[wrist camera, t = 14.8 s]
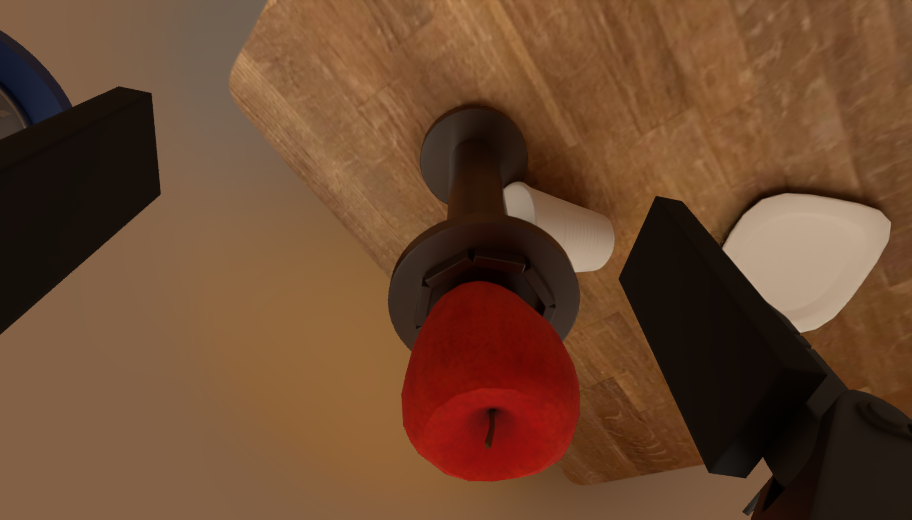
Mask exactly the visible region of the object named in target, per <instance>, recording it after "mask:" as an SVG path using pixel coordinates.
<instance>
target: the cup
mask: <svg viewBox="0 0 912 520" xmlns="http://www.w3.org/2000/svg"><path fill="white" fill-rule="evenodd" d="M504 195H505V200H506V206H507V211H508V216H513V217H517V218H520V219H522V220H525V221H528V222H530V223H532V224H534V225H536V226H538V227H540V228H541V229H543V230H544V231H546V232H547V233H548V234H550V235H551V236H552V237H553V238H554V239H555V240H556V241H557V242H558V243H559V244H560V245H561V246H562V248H563V249H564V250H565V252H566V253H567V255H568V257H569V259H570V261H571V263H572V266H573V268H574V271H575V272H585V271H595V270H598V269H600V268H601V267H603V266H604V265H605V264H606V262H607V261H608V260H609V258H610V256H611V254H612V252H613V248H614V242H615V237H614V230H613V227H612V225H611V223H610V221H609V219H608V218H607V217H606V216H604V215H602V214H599V213H597V212H594V211H591V210H589V209H586V208H583V207H580V206H578V205H575V204H572V203H570V202H567V201H564V200H561V199H559V198H556V197H553V196H552V195H549V194H546V193H544V192H541V191H538V190H536V189H533V188H531V187H529V186H528V185H527V184H525V183H523V182H513V183H511V184H509V185H507V186H506V187H505V188H504Z"/></svg>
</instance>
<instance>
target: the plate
mask: <svg viewBox="0 0 912 520" xmlns="http://www.w3.org/2000/svg"><path fill="white" fill-rule="evenodd" d="M890 227H891V222H890V221H889V220H888V219H887V218H886V217H885V216H884V214H883V213H882V212H881V211H880V210H877V209H874V208H871V207H868V206H866V205H863V204H860V203H856V202H851V201H846V200H841V199H836V198H830V197H824V196H818V195H812V194H799V193H782V194H778V195H774V196H770V197H767V198H763V199H761V200H760V201H758V202H757V203H756V204H755V205H753V206H752V207H751V208H750V209H749V210H747V211H746V212H745V213H744V214H743V215H742V216H741V218H740V219H739V221H738V222H737V223H736V225H735V226H734V228H733V229H732V231H731V232H730V234H729V235H728V237H727V239H726V241H725V243H724V244H723V246H722V249H723V250H724V252H725V253H726V254H727V255H728V256H729V258H730V259H731V260H732V261H733V262H734V264H735V265H736V266H737V267H738V268H739V270H740V271H741V272H742V273H743V274H744V275H745V277H746V278H747V279H748V280H749V281H750V283H751V284H752V285H753V286H754V287H755V289H756V290H757V291H758V292H759V293H760V295H761V296H762V297H763V298H764V299H765V301H766V302H768V303H769V304H770V305H772V306H773V307H774V308H776V309H777V310H778V311H780V312H781V313H782V314H783V315H785V316H786V317H787V318H788V319H789V320H790V322H791V323H792V324H793V325H794V326H795V327H796V329H797V330H798V331H799V332H800V333H801V332H805V331H810V330H814V329H817V328H819V327H820V326H822V325H823V324H825V323H826V322H828V321H829V320H831V319H832V318H834V317H835V316H836V315H837V314H838V312H839V311H840V310H841V309H842V308H843V307H844V306H845V305H846V304H847V302H848V301H849V300H850V299H851V297H852V296H853V295H854V293H855V292H856V291H857V289H858V288H859V287H860V285H861V284H862V283H863V281H864V280H865V278H866V277H867V275H868V274H869V273H870V271H871V270H872V268H873V267H874V265H875V264H876V262H877V261H878V259H879V257H880V255H881V254H882V252H883V250H884V248H885V246H886V245H887V243H888V241H889V235H890Z"/></svg>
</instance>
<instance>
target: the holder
mask: <svg viewBox="0 0 912 520" xmlns="http://www.w3.org/2000/svg"><path fill="white" fill-rule="evenodd" d="M527 162H528V156H527V149H526V145H525V141H524V139H523V136H522V134H521V132H520V130H519V128H518V127H517V125H516V124H515V123H514V122H513V121H512V120H511V119H510V118H509V117H508V116H507V115H505V114H504V113H502V112H500V111H499V110H496V109H494V108H491V107H487V106H482V105H467V106H462V107H458V108H455V109H453V110H450V111H448V112H447V113H445V114H443V115H442V116H441V117H439V118H438V119H437V120H436V121H435V122H434V123H433V124H432V126H431V127H430V128H429V130H428V132H427V134H426V136H425V138H424V141H423V144H422V149H421V156H420V166H421V172H422V175H423V178H424V180H425V183H426V185H427V186H428V188H429V189H430V190H431V192H432V193H433V194H434V195H435V196H436V197H437V198H438V199H440V200H441V201H442V202H444V203H446V204H447V205H448V213H447V220H446V221H443V222H440V223H438V224H436V225H434V226H433V227H431V228H429V229H427V230H426V231H424V232H423V233H422V234H420V235H419V236H418V237H417V238H415V239H414V240H413V241H412V242H411V243H410V244H409V245H408V247H407V248H406V249H405V250H404V251H403V253H402V254H401V256H400V258H399V259H398V261H397V263H396V266H395V268H394V270H393V274H392V278H391V282H390V287H389V295H388V307H389V313H390V318H391V321H392V324H393V325H394V329H395V331H396V332H397V334H398V336H399V337H400V339H401V340H402V341H403V343H404V344H405V345H406V346H407V347H408V348H409V349H410V350H411V351H412V349H413V346H414V343H415V341H416V339H417V337H418V334H419V332H420V330H421V328H422V326H423V324H424V322H425V320H426V318H427V317H428V315H429V313H430V311H431V309H432V308H433V306H434V305H435V304H436V303H437V302H438V301H439V300H440V298H441V297H442V296H443V295H444V294H446V293H448V292H449V291H451V290H452V289H454V288H456V287H457V286H459V285H461V284H464V283H469V282H473V281H487V282H491V283H494V284H497V285H500V286H502V287H504V288H506V289H508V290H509V291H511V292H513V293H515V294H517V295H518V296H519V297H520V298H521V299H522V300H524V301H525V302H526V303H527V304H528V305H529V306H531V307H532V308H533V309H534V310H535V311H537V312H538V313H539V314H540V315H541V316H542V317H544V318H545V319H546V320H547V321H548V322H549V323H550V324H551V325H552V327H553V328H554V329H555V331H556V332H557V333H558V335H559V337H560V339H561V341H562V342H563V341H564V340H565V338H566V337H567V335H568V334H569V332H570V331H571V329H572V327H573V325H574V323H575V320H576V317H577V314H578V310H579V303H580V290H579V285H578V280H577V277H576V274H575V271H574V268H573V266H572V263H571V261H570V259H569V257H568V255H567V253H566V252H565V250H564V249H563V248H562V246H561V245H560V244H559V243H558V242H557V241H556V240H555V239H554V238H553V237H552V236H551V235H550V234H548V233H547V232H546V231H544V230H543V229H541V228H540V227H538V226H536V225H534V224H532V223H530V222H528V221H525V220H522V219H520V218H517V217H513V216H508V211H507V206H506V200H505V195H504V188H505V187H506V186H507V185H509V184H511V183H513V182H522V181H523V179H524V176H525V173H526V169H527Z"/></svg>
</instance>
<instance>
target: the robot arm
mask: <svg viewBox="0 0 912 520" xmlns="http://www.w3.org/2000/svg"><path fill="white" fill-rule="evenodd" d="M160 194H161V193H160V181H159V169H158V159H157V148H156V137H155V126H154V116H153V104H152V94H151V93H148V92H143V91H139V90H134V89H129V88H124V87H119V86H118V87H116V88H114V89H112V90H110V91H108V92H106V93H103V94H101V95H98V96H96V97H94V98H92V99H90V100H87V101H85V102H83V103H81V104H78V105H76V106H74V107H72V108H69V109H67V110H65V111H63V112H60V113H58V114H56V115H54V116H52V117H49V118H47V119H45V120H43V121H40V122H38V123H36V124H34V125H33V124H32V122H31V120H30V118H29V116H28V114H27V112H26V111H25V109H24V108H23V106H22V105H21V103H20V102H19V101H18V99H17V98H16V97H15V96H14V95H13V94H12V92H11V91H10V90H9V89H8V88H7V87H6V86H5V85H4V84H3V83H2V82H0V334H2V333H3V332H4V331H5V330H6V329H7V328H8V327H9V326H10V325H12V324H13V323H14V322H15V321H16V320H18V319H19V318H20V317H21V316H22V315H23V314H24V313H26V312H27V311H28V310H29V309H30V308H31V307H32V306H33V305H35V304H36V303H37V302H38V301H39V300H40V299H42V298H43V297H44V296H45V295H46V294H47V293H48V292H50V291H51V290H52V289H53V288H54V287H55V286H56V285H57V284H59V283H60V282H61V281H62V280H63V279H64V278H65V277H67V276H68V275H69V274H70V273H71V272H72V271H73V270H75V269H76V268H77V267H78V266H79V265H80V264H81V263H83V262H84V261H85V260H86V259H87V258H88V257H90V256H91V255H92V254H93V253H94V252H95V251H96V250H98V249H99V248H100V247H101V246H102V245H103V244H104V243H106V242H107V241H108V240H109V239H110V238H111V237H112V236H114V235H115V234H116V233H117V232H118V231H119V230H120V229H122V228H123V227H124V226H125V225H126V224H127V223H128V222H130V221H131V220H132V219H133V218H134V217H135V216H136V215H138V214H139V213H140V212H141V211H142V210H143V209H144V208H145V207H147V206H148V205H149V204H150V203H151V202H152V201H154V200H155V199H156V198H157V197H158V196H159V195H160ZM619 281H620V283H621V285H622V287H623V289H624V292H625V294H626V296H627V298H628V300H629V302H630V304H631V307H632V309H633V311H634V313H635V315H636V317H637V320H638V322H639V324H640V326H641V328H642V330H643V332H644V335H645V337H646V339H647V341H648V343H649V345H650V348H651V350H652V352H653V354H654V356H655V358H656V360H657V363H658V365H659V367H660V369H661V371H662V373H663V375H664V378H665V380H666V382H667V384H668V386H669V388H670V391H671V393H672V395H673V397H674V399H675V401H676V403H677V406H678V408H679V410H680V412H681V414H682V416H683V419H684V421H685V423H686V425H687V427H688V429H689V431H690V434H691V436H692V438H693V440H694V442H695V444H696V446H697V449H698V451H699V453H700V455H701V457H702V459H703V462H704V464H705V466H706V468H707V470H708V472H709V473H713V474H719V475H727V476H734V477H740V478H746V477H747V476H748V475H749V474H750V472H751V471H752V470H753V469H754V467H755V466H756V465H757V464H758V462H759V461H760V460H761V459H762V457H763V458H764V460H765V461H766V463H767V465H768V467H769V468H770V470H771V472H772V474H773V475H772V477H771V478H770V479H769V480H768V482H767V483H766V484H765V485H764V486H763V487H762V489H761V490H760V491H759V492H758V493H757V495H756V496H755V497H754V498H753V500H752V501H751V502H750V503H749V504H748V505H747V507H746V508H745V509H744V510H743V513H745V514H746V515H749V514H750V513H751V512H753V511H754V512H753V515H752V517H751V520H912V420H911V419H910V418H909V417H907V416H906V415H905V414H904V413H903V412H901V411H900V410H899V409H897V408H895V407H894V406H892V405H891V404H889V403H887V402H886V401H884V400H882V399H880V398H878V397H875V396H873V395H871V394H869V393H865V392H861V391H857V390H849V389H848V388H847V387H846V386H845V385H844V383H843V382H842V381H841V380H840V379H839V378H838V376H837V375H836V374H835V373H834V372H833V371H832V369H831V368H830V367H829V366H828V365H827V364H826V362H825V361H824V360H823V359H822V358H821V357H820V355H819V354H818V353H817V352H816V351H815V350H814V349H811V345H810V344H809V343H808V341H807V340H806V339H805V338H804V337H803V336H800V332H799V331H798V330H797V329H796V327H795V326H794V325H793V324H792V323H791V322H790V320H789V319H788V318H787V317H786V316H785V315H783V314H782V313H781V312H780V311H778V310H777V309H776V308H774V307H773V306H772V305H770V304H769V303H768V302H766V301H765V299H764V298H763V297H762V296H761V295H760V293H759V292H758V291H757V290H756V289H755V287H754V286H753V285H752V284H751V283H750V281H749V280H748V279H747V278H746V277H745V275H744V274H743V273H742V272H741V271H740V270H739V268H738V267H737V266H736V265H735V264H734V262H733V261H732V260H731V259H730V258H729V256H728V255H727V254H726V253H725V252H724V250H723V249H722V248H721V247H720V246H719V244H718V243H717V242H716V241H715V240H714V238H713V237H712V236H711V235H710V234H709V233H708V231H707V230H706V229H705V228H704V227H703V225H702V224H701V223H700V222H699V221H698V219H697V218H696V217H695V216H694V215H693V213H692V212H691V211H690V210H689V209H688V207H687V206H686V205H685V204H684V203H683V202H682V201H678V200H674V199H669V198H664V197H659V196H656V197H655V199H654V201H653V203H652V206H651V208H650V210H649V212H648V215H647V217H646V219H645V221H644V223H643V226H642V228H641V230H640V232H639V235H638V237H637V239H636V241H635V243H634V246H633V248H632V250H631V252H630V254H629V257H628V259H627V261H626V263H625V266H624V268H623V270H622V272H621V274H620V277H619Z"/></svg>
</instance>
